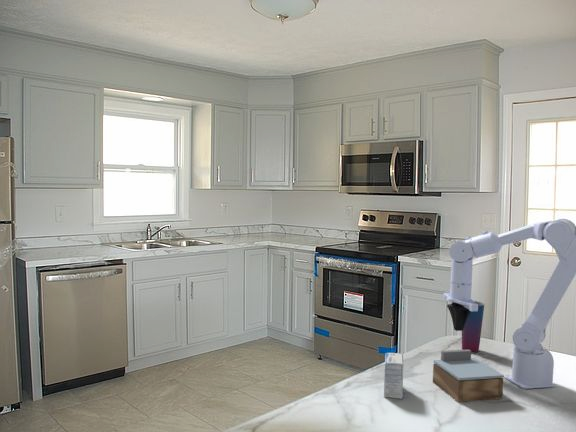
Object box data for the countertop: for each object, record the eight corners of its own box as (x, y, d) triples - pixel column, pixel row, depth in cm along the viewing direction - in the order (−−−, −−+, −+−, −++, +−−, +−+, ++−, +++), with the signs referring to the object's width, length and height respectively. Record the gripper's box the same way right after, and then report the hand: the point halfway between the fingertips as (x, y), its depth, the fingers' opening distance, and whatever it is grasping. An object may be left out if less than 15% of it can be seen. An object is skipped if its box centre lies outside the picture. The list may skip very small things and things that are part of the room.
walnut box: (473, 379, 133) (474, 361, 133) (502, 398, 122) (503, 378, 121) (432, 382, 131) (433, 363, 130) (457, 402, 119) (458, 381, 119)
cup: (460, 352, 155) (463, 304, 154) (457, 345, 162) (459, 299, 161) (483, 354, 154) (486, 306, 153) (479, 347, 160) (481, 301, 159)
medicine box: (402, 399, 120) (403, 364, 119) (383, 397, 121) (384, 362, 120) (401, 386, 127) (403, 353, 127) (383, 384, 128) (385, 351, 128)
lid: (474, 360, 133) (475, 349, 133) (503, 377, 121) (504, 365, 121) (433, 362, 130) (434, 351, 130) (459, 380, 119) (459, 368, 119)
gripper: (435, 278, 148) (432, 323, 149) (462, 288, 134) (459, 338, 135) (456, 277, 149) (454, 322, 150) (486, 288, 135) (483, 337, 136)
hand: (458, 330), depth 143 cm, fingers closed
